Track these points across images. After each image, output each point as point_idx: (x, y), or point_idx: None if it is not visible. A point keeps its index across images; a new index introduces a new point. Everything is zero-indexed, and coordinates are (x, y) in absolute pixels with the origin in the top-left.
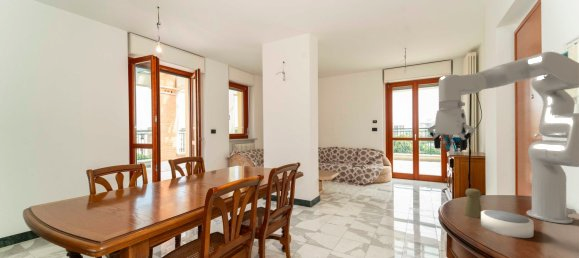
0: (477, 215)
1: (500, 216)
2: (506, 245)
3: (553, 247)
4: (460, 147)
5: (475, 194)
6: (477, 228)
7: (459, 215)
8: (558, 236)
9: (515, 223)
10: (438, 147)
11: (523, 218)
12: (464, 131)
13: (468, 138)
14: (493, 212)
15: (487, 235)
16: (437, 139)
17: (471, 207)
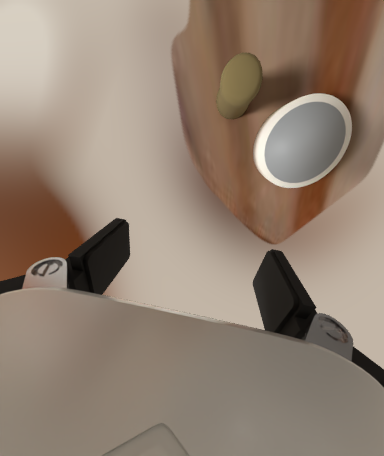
0: (243, 112)
1: (292, 162)
2: (286, 220)
3: (346, 178)
4: (258, 295)
5: (249, 102)
6: (250, 184)
7: (213, 131)
8: (379, 100)
9: (313, 181)
10: (128, 243)
11: (335, 135)
12: (374, 404)
13: (340, 337)
14: (281, 141)
15: (265, 203)
16: (96, 291)
17: (234, 112)
